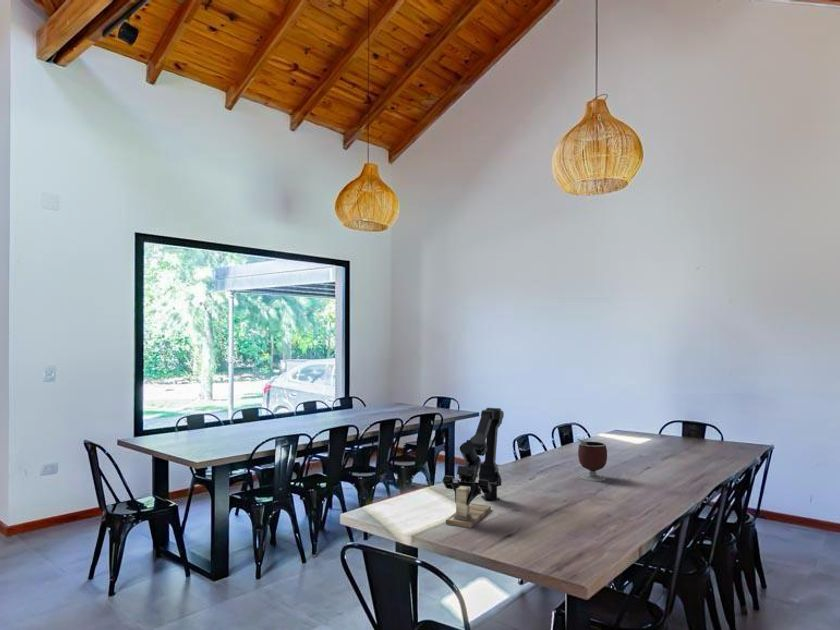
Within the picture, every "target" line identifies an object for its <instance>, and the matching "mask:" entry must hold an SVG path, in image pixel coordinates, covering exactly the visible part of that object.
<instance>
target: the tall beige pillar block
mask: <svg viewBox="0 0 840 630" xmlns="http://www.w3.org/2000/svg"><path fill="white" fill-rule="evenodd" d="M469 492H470V487H466V486H460V487H459V488H457V489H456V503H455V512H456V515H454V519H461V520H468V519H469V518H470V517H471V513H470V504H469V505H466V502H467V498H468V495H469Z"/></svg>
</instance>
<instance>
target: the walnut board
mask: <svg viewBox="0 0 840 630" xmlns="http://www.w3.org/2000/svg"><path fill="white" fill-rule="evenodd" d="M491 509H492V505H487V504H486V505H485V504H477V503H472V502H470V513H471V517H470V518H469V519H468V520H461V519H454V515H456V511H455V512H454V513H453V514H452V515H450V516H449V517H447V518H446V519H445V524H446V525H449V526H456V527H457V526H458V527H464V528H473V527H474V525H476V524H477V523H478V522H479V521H481V519H482V518H483V517H485V515H487V514H488V513H489V512H490V511H491Z"/></svg>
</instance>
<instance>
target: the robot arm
mask: <svg viewBox="0 0 840 630" xmlns="http://www.w3.org/2000/svg"><path fill="white" fill-rule="evenodd" d="M503 419H504V411H503V410H502V409H501V407H499V408H497V407H486V408H485V409H482V410H481V412H480V419H479V422H478V425H477V428H476V432H475V434H474V435H473V436H472V437H470V439H466V441H465V442H462V443H461V445H459V452H460V453H461V456H462V458H463V460H464V461H465V464H464V465H458V466H457V468H456V469H457V471H456V474H457V475H458V478H459V479H457V478H455V476H454V475H444V476H443V477H442V483H443V484H444V487H445V489H447V490H453V491H454V501H455V502H454V503H455V504H456V489H457V488H459V487H467V488H469V489H470V492H469V495H468V498H467V502H466V505H469V504H470V503H472V501H473V500H475V498H476V497H478V496H479V495H480V497H481V498H482V499H483V500H485V501H487V502H489V501H490V502H491V501H500V500H501V498H500V497H498V487H501V486H502V482H503V480H502V477H501V475H500V472H499V467H498V464H497V463H496V458H497V442H498V432H499V431H498V429H499V428H500V426H501V425H502V424H503ZM483 456H484V460H483V462H482V459H481V457H483ZM477 478H478V480H477ZM477 481H478V482H477ZM482 493H483V495H482Z"/></svg>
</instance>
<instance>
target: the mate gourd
mask: <svg viewBox="0 0 840 630" xmlns="http://www.w3.org/2000/svg"><path fill="white" fill-rule="evenodd" d="M576 440H577V441H579V443H578V449H577V454H578V461H579V464H580V465H581V467H582V468H584V469H586V470H588V471H589V473H584V474H583V473H582V474H580V477H581V478H582V479H581V478H580V477H579V478H580V479H581V480H583V479H585V481H588V480H591V481H590V482H603V481H602V480H604V481H606V480H605V479H607V478H606V476H604V475H601V474H597V471H599V470H602V469H604V467H605V466H606V465H607V460H608V449H607V448H608V447H607V444H606V443H604V442H603V441H602V442H601V441H592V440H591V441H587V440H586V441H584V440H583V439H580V438H577V439H576Z"/></svg>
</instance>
